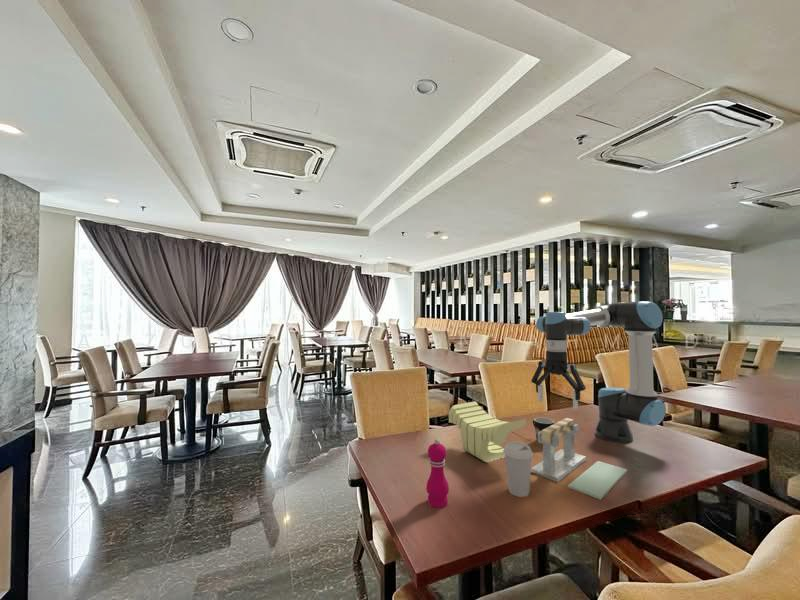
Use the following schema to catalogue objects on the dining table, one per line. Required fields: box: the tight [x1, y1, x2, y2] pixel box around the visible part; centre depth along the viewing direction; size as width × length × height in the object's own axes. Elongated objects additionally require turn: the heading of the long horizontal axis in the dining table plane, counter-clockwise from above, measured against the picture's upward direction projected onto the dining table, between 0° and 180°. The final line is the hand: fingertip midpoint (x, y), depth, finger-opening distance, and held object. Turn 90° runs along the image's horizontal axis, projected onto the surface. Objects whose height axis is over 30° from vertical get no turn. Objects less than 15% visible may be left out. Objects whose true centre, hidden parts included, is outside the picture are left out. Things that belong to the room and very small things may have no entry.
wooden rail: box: [542, 417, 575, 444], centre depth 131 cm, size 22×3×4 cm, turn 131°
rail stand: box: [530, 423, 587, 483], centre depth 131 cm, size 26×10×14 cm, turn 131°
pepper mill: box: [426, 438, 450, 509], centre depth 107 cm, size 7×7×20 cm
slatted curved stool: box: [448, 401, 527, 463], centre depth 142 cm, size 30×16×18 cm, turn 28°
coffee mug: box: [532, 417, 555, 445], centre depth 156 cm, size 12×9×10 cm
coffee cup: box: [503, 441, 534, 498], centre depth 112 cm, size 10×10×15 cm
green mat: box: [567, 460, 628, 501], centre depth 120 cm, size 28×10×1 cm, turn 131°
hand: (557, 404), depth 131 cm, fingers open, 13 cm apart
